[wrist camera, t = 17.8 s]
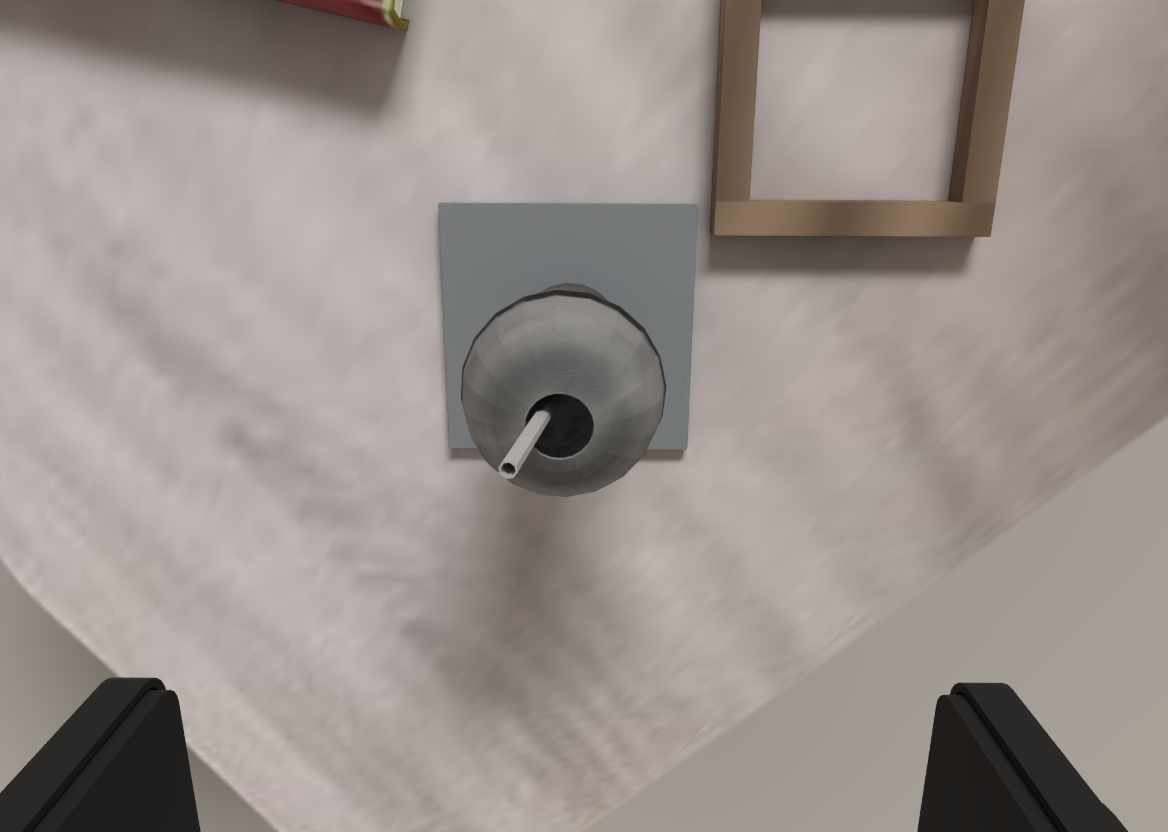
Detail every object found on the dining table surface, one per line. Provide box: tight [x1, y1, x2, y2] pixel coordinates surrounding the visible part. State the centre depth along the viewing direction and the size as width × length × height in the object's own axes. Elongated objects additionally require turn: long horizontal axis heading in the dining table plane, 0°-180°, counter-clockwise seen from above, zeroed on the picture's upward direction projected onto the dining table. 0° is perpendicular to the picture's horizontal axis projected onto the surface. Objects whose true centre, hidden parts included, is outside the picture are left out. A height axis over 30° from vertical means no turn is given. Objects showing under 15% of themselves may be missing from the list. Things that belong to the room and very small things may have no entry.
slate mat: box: [438, 203, 698, 450], centre depth 41 cm, size 12×12×1 cm
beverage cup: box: [461, 282, 666, 497], centre depth 31 cm, size 7×7×20 cm
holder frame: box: [710, 0, 1025, 237], centre depth 37 cm, size 13×13×2 cm
